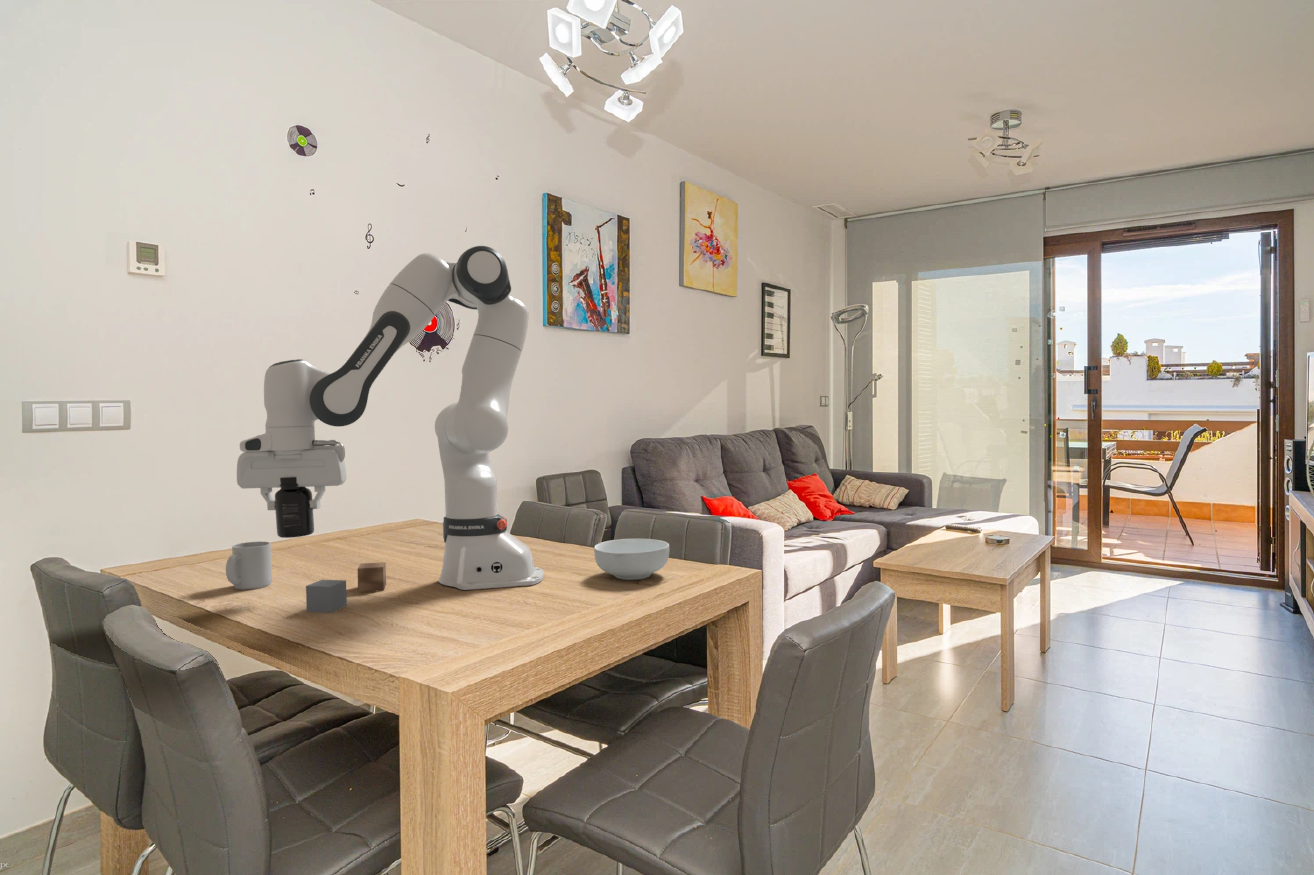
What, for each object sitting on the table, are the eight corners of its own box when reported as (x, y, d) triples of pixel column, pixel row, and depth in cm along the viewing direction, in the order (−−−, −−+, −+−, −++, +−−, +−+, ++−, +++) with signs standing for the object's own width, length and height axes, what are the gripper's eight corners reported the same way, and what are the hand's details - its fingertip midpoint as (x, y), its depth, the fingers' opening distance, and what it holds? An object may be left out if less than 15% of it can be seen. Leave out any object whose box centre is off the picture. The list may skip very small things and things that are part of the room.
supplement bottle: (322, 532, 151) (318, 474, 150) (296, 539, 145) (292, 478, 144) (295, 530, 154) (292, 473, 153) (269, 537, 147) (265, 477, 146)
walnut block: (386, 585, 158) (385, 562, 158) (383, 590, 154) (383, 567, 153) (361, 586, 157) (360, 563, 157) (358, 592, 152) (357, 568, 152)
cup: (279, 582, 161) (278, 542, 160) (241, 594, 151) (240, 551, 151) (253, 580, 163) (251, 540, 162) (214, 592, 153) (212, 549, 153)
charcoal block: (346, 606, 142) (346, 580, 142) (330, 613, 137) (330, 586, 137) (323, 605, 143) (322, 579, 143) (306, 612, 138) (305, 585, 138)
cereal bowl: (626, 564, 177) (626, 535, 176) (684, 573, 167) (683, 542, 167) (578, 578, 163) (578, 546, 163) (638, 589, 153) (638, 555, 153)
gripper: (349, 438, 152) (352, 505, 153) (246, 441, 150) (249, 508, 151) (338, 440, 146) (342, 509, 147) (230, 443, 144) (234, 513, 145)
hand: (294, 509), depth 149 cm, fingers open, 7 cm apart
